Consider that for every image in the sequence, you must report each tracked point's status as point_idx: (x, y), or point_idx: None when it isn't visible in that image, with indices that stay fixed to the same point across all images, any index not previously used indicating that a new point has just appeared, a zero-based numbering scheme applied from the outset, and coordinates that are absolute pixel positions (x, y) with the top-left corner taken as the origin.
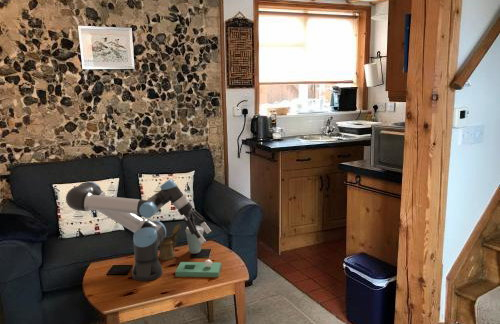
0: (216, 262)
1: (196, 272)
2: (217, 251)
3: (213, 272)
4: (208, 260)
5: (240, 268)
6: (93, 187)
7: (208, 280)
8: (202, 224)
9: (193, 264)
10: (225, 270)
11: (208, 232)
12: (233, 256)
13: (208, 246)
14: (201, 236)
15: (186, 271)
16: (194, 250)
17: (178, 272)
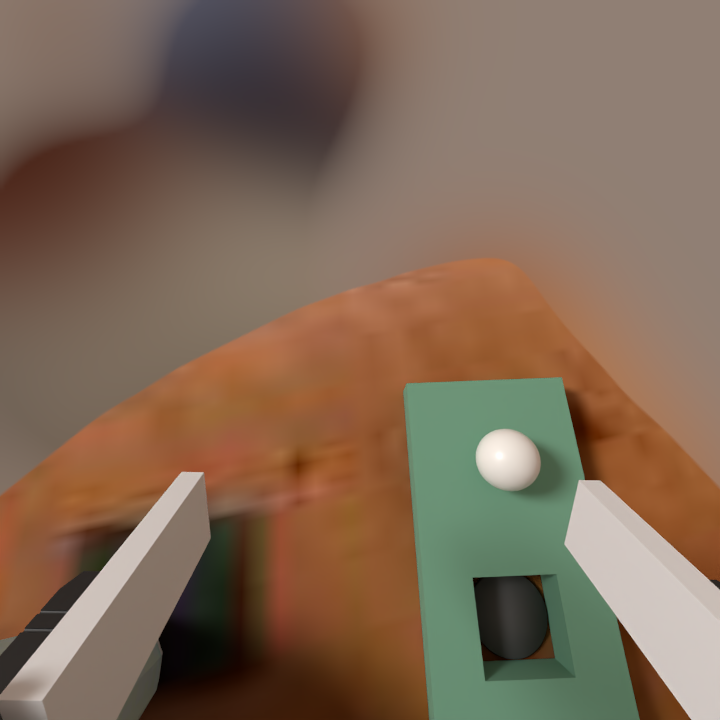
0: (410, 417)
1: None
2: (141, 464)
3: (567, 408)
4: (525, 452)
5: (410, 282)
6: None
7: (604, 437)
8: (88, 716)
9: (470, 599)
10: (448, 359)
11: (204, 516)
12: (238, 342)
13: (24, 561)
14: (677, 562)
15: (609, 628)
16: (153, 674)
17: (634, 705)
